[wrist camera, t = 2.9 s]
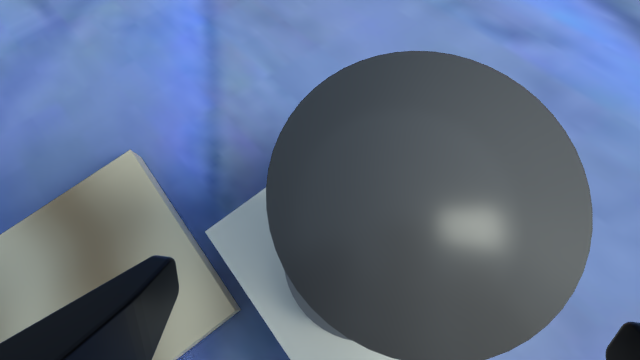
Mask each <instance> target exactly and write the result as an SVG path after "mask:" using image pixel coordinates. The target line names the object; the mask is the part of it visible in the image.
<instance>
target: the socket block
mask: <svg viewBox="0 0 640 360" xmlns="http://www.w3.org/2000/svg"><path fill="white" fill-rule="evenodd" d="M205 233H206V234H207V236H208V237H209V239H210V240H211V242H212V243H213V245H214V246H215V248H216V249H217V251H218V252H219V254H220V255H221V257H222V258H223V260H224V261H225V263H226V264H227V266H228V267H229V269H230V270H231V272H232V273H233V275H234V276H235V278H236V279H237V281H238V282H239V284H240V285H241V287H242V288H243V289H244V291H245V292H246V294H247V295H248V297H249V298H250V300H251V301H252V303H253V304H254V306H255V307H256V309H257V310H258V312H259V313H260V315H261V316H262V318H263V319H264V321H265V322H266V324H267V325H268V327H269V328H270V330H271V331H272V333H273V334H274V336H275V337H276V339H277V340H278V342H279V343H280V345H281V346H282V348H283V349H284V351H285V352H286V354H287V355H288V357H289V358H290V360H398V359H393V358H390V357H387V356H385V355H382V354H379V353H377V352H374V351H371V350H369V349H367V348H365V347H363V346H361V345H360V344H358V343H356V342H354V341H352V340H347V339H343V338H340V337H338V336H335V335H333V334H331V333H329V332H327V331H325V330H323V329H322V328H321V327H319V326H318V325H316V324H315V323H314V322H313V321H312V320H311V319H310V318H308V317H307V316H306V315H305V313H304V312H303V311H302V310H301V308H300V307H299V306H298V304H297V302H296V301H295V299H294V298H293V296H292V293H291V291H290V289H289V286H288V283H287V280H286V276H285V270H284V268H283V266H282V264H281V261H280V259H279V257H278V255H277V252H276V250H275V247H274V243H273V240H272V237H271V233H270V230H269V223H268V217H267V210H266V188H265V189H263V190H262V191H260V192H259V193H258V194H256V195H255V196H253V197H252V198H251V199H249V200H248V201H247V202H245V203H244V204H242V205H241V206H240V207H238V208H237V209H235V210H234V211H233V212H231V213H230V214H228V215H227V216H226V217H224V218H223V219H221V220H220V221H219V222H217V223H216V224H215V225H213V226H212V227H210V228H209V229H208V230H206V231H205Z"/></svg>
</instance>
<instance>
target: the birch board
mask: <svg viewBox="0 0 640 360" xmlns="http://www.w3.org/2000/svg"><path fill="white" fill-rule="evenodd" d="M154 255H160V256H167V257H172V258H173V259H174V260H175V263H176V268H177V275H178V282H179V293H178V297H177V299H176V302H175V304H174V307H173V309H172V312H171V314H170V317H169V319H168V321H167V324H166V326H165V329H164V331H163V334H162V336H161V339H160V341H159V344H158V346H157V349H156V351H155V353H154V356H153V358H152V360H177V359H178V358H179V357H180V356H182V355H183V354H184V353H186V352H187V351H188V350H190V349H191V348H192V347H193V346H195V345H196V344H197V343H199V342H200V341H201V340H202V339H204V338H205V337H206V336H208V335H209V334H210V333H212V332H213V331H214V330H215V329H217V328H218V327H219V326H221V325H222V324H223V323H225V322H226V321H227V320H228V319H230V318H231V317H232V316H234V315H235V314H236V313H237V312H239V311H240V310H241V309H240V308H239V306H238V305H237V303H236V301H235V300H234V298H233V297H232V295H231V294H230V292H229V291H228V289H227V288H226V286H225V285H224V283H223V282H222V280H221V279H220V277H219V276H218V274H217V272H216V271H215V269H214V268H213V266H212V265H211V263H210V262H209V260H208V259H207V257H206V256H205V254H204V253H203V251H202V250H201V248H200V247H199V245H198V243H197V242H196V240H195V239H194V237H193V236H192V234H191V233H190V231H189V230H188V228H187V227H186V225H185V224H184V222H183V221H182V219H181V218H180V216H179V214H178V213H177V211H176V210H175V208H174V207H173V205H172V204H171V202H170V201H169V199H168V198H167V196H166V195H165V193H164V192H163V190H162V189H161V187H160V185H159V184H158V182H157V181H156V179H155V178H154V176H153V175H152V173H151V172H150V170H149V169H148V167H147V166H146V164H145V163H144V161H143V160H142V158H141V157H140V156H139V155H137V154H136V153H135V152H133V151H132V150H129V151H127V152H126V153H124V154H123V155H121V156H120V157H118V158H117V159H115V160H114V161H112V162H111V163H109V164H108V165H106V166H104V167H103V168H101V169H100V170H98V171H97V172H95V173H94V174H92V175H91V176H89V177H88V178H86V179H85V180H83V181H82V182H80V183H79V184H77V185H75V186H74V187H72V188H71V189H69V190H68V191H66V192H65V193H63V194H62V195H60V196H59V197H57V198H56V199H54V200H53V201H51V202H50V203H48V204H46V205H45V206H43V207H42V208H40V209H39V210H37V211H36V212H34V213H33V214H31V215H30V216H28V217H27V218H25V219H24V220H22V221H21V222H19V223H17V224H16V225H14V226H13V227H11V228H10V229H8V230H7V231H5V232H4V233H2V234H1V235H0V343H1V342H3V341H5V340H6V339H8V338H10V337H12V336H13V335H15V334H17V333H19V332H20V331H22V330H24V329H26V328H27V327H29V326H31V325H33V324H34V323H36V322H38V321H40V320H41V319H43V318H45V317H46V316H48V315H50V314H52V313H53V312H55V311H57V310H59V309H60V308H62V307H64V306H66V305H67V304H69V303H71V302H73V301H74V300H76V299H78V298H80V297H81V296H83V295H85V294H86V293H88V292H90V291H92V290H93V289H95V288H97V287H99V286H100V285H102V284H104V283H106V282H107V281H109V280H111V279H113V278H114V277H116V276H118V275H120V274H121V273H123V272H125V271H126V270H128V269H130V268H132V267H133V266H135V265H137V264H139V263H140V262H142V261H144V260H146V259H147V258H149V257H151V256H154Z"/></svg>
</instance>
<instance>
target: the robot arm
mask: <svg viewBox="0 0 640 360" xmlns="http://www.w3.org/2000/svg"><path fill="white" fill-rule="evenodd" d="M178 293H179V282H178V275H177V268H176V263H175V260H174V259H173V258H172V257H167V256H160V255H154V256H151V257H149V258H147V259H146V260H144V261H142V262H140V263H139V264H137V265H135V266H133V267H132V268H130V269H128V270H126V271H125V272H123V273H121V274H120V275H118V276H116V277H114V278H113V279H111V280H109V281H107V282H106V283H104V284H102V285H100V286H99V287H97V288H95V289H93V290H92V291H90V292H88V293H86V294H85V295H83V296H81V297H80V298H78V299H76V300H74V301H73V302H71V303H69V304H67V305H66V306H64V307H62V308H60V309H59V310H57V311H55V312H53V313H52V314H50V315H48V316H46V317H45V318H43V319H41V320H40V321H38V322H36V323H34V324H33V325H31V326H29V327H27V328H26V329H24V330H22V331H20V332H19V333H17V334H15V335H13V336H12V337H10V338H8V339H6V340H5V341H3V342H1V343H0V360H152V358H153V356H154V353H155V351H156V349H157V346H158V344H159V341H160V339H161V336H162V334H163V331H164V329H165V326H166V324H167V321H168V319H169V317H170V314H171V312H172V309H173V307H174V304H175V302H176V299H177V297H178ZM606 360H640V323H637V322H627V323H625V324H623V326H622V327H621V328H620V330H619V331H618V332H617V334H616V335H615V337H614V338H613V340H612V341H611V342H610V344H609V345H608V347H607V349H606Z"/></svg>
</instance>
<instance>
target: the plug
mask: <svg viewBox="0 0 640 360" xmlns="http://www.w3.org/2000/svg"><path fill="white" fill-rule="evenodd" d="M266 210H267V217H268V223H269V230H270V233H271V237H272V240H273V243H274V247H275V250H276V252H277V255H278V257H279V259H280V261H281V264H282V266H283V268H284V270H285V276H286V280H287V283H288V286H289V289H290V291H291V293H292V296H293V298H294V299H295V301H296V302H297V304H298V306H299V307H300V308H301V310H302V311H303V312H304V313H305V315H306V316H307V317H308V318H310V319H311V320H312V321H313V322H314V323H315V324H316V325H318V326H319V327H321V328H322V329H323V330H325V331H327V332H329V333H331V334H333V335H335V336H338V337H340V338H343V339H347V340H352V341H354V342H356V343H358V344H360V345H361V346H363V347H365V348H367V349H369V350H371V351H374V352H377V353H379V354H382V355H385V356H387V357H390V358H393V359H398V360H485V359H489V358H491V357H494V356H497V355H499V354H502V353H505V352H507V351H510V350H512V349H513V348H515V347H517V346H519V345H520V344H522V343H524V342H526V341H528V340H529V339H531V338H532V337H533V336H534V335H536V334H537V333H538V332H540V331H541V330H542V329H543V328H545V327H546V326H547V325H548V324H549V323H550V322H551V321H552V320H553V319H554V318H555V316H556V315H557V314H558V313H559V312H560V311H561V310H562V309H563V307H564V306H565V304H566V303H567V301H568V300H569V298H570V297H571V295H572V294H573V292H574V291H575V289H576V286H577V284H578V282H579V280H580V278H581V276H582V274H583V271H584V268H585V265H586V261H587V258H588V254H589V251H590V244H591V237H592V203H591V196H590V189H589V185H588V182H587V178H586V174H585V171H584V168H583V165H582V163H581V160H580V158H579V156H578V153H577V151H576V149H575V147H574V145H573V144H572V142H571V140H570V138H569V137H568V135H567V133H566V131H565V130H564V129H563V127H562V126H561V125H560V123H559V122H558V121H557V119H556V118H555V117H554V115H553V114H552V113H551V112H550V111H549V110H548V109H547V108H546V107H545V106H544V105H543V104H542V103H541V102H540V100H538V99H537V98H536V97H535V96H534V95H533V94H531V93H530V92H529V91H528V90H527V89H525V88H524V87H523V86H521V85H520V84H518V83H517V82H515V81H514V80H512V79H511V78H509V77H508V76H506V75H504V74H502V73H501V72H499V71H497V70H495V69H493V68H491V67H489V66H486V65H484V64H481V63H479V62H476V61H473V60H471V59H467V58H463V57H460V56H456V55H452V54H445V53H439V52H429V51H406V52H394V53H389V54H384V55H378V56H375V57H372V58H368V59H365V60H362V61H359V62H357V63H355V64H352V65H350V66H348V67H346V68H343V69H342V70H340V71H338V72H337V73H335V74H333V75H332V76H330V77H328V78H327V79H326V80H324V81H323V82H322V83H321V84H319V85H318V86H317V87H315V88H314V89H313V90H312V91H311V92H310V93H309V94H308V95H307V96H306V97H305V98H304V99H303V100H302V101H301V102H300V104H299V105H298V106H297V107H296V109H295V110H294V111H293V113H292V114H291V115H290V117H289V118H288V120H287V122H286V124H285V125H284V127H283V129H282V131H281V132H280V135H279V137H278V140H277V142H276V145H275V147H274V150H273V153H272V157H271V161H270V165H269V168H268V176H267V185H266Z"/></svg>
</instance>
